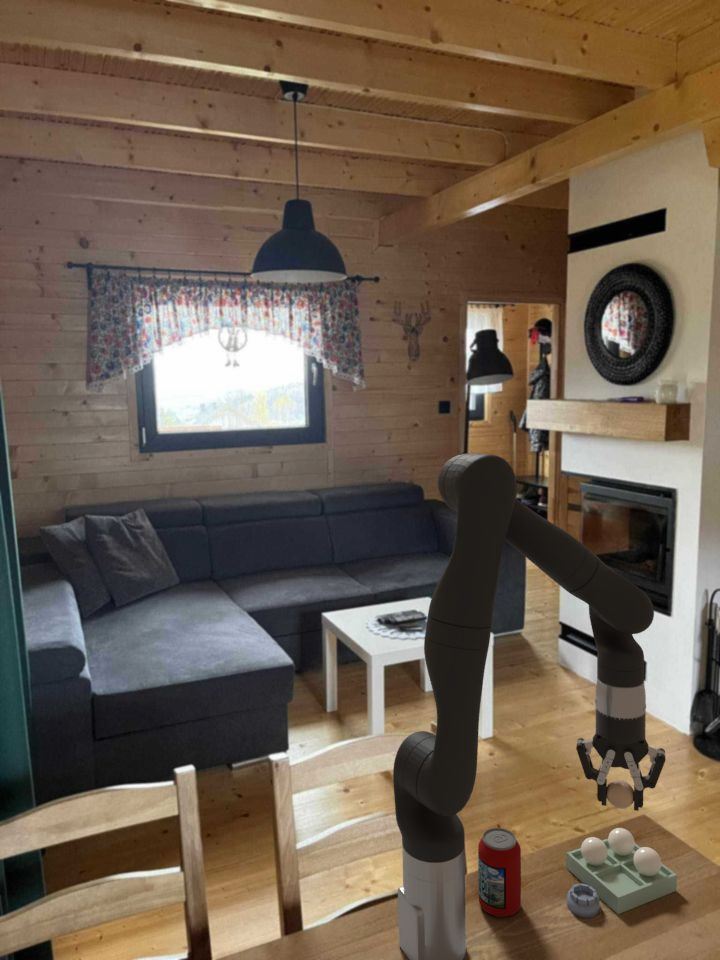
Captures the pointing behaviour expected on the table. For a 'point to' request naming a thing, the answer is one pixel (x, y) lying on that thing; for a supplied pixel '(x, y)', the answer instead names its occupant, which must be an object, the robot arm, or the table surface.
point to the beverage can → (499, 872)
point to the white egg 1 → (594, 851)
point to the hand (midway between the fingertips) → (619, 804)
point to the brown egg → (620, 794)
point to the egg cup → (583, 901)
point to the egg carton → (621, 879)
